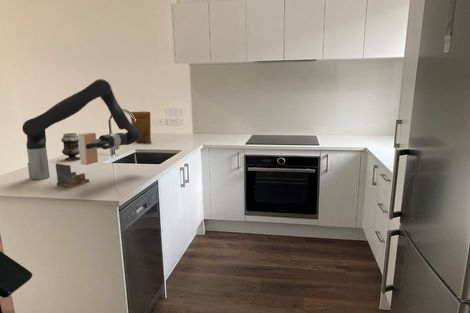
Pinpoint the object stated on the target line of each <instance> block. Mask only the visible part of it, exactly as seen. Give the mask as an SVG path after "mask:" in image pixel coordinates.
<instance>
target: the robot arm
mask: <svg viewBox="0 0 470 313" xmlns="http://www.w3.org/2000/svg"><path fill="white" fill-rule="evenodd" d="M98 98H100V99H101V100H102V101H103V102H104V104H105V105H106V106H107V109H108V111H109V113H110V114H111V117H112V119H113V120H114V122H115V124H116V126H117V127H118V129H119V130H126V132H125V133H124V132H117V133H116V132H115V133H107V134H103V135H100V136H99V138H96V143H92V144H87V145H86V148H87V149H90V148H93V147H94V148H97V149H102V150H109V149H113V148H116V147H120V146H129V145H132V144H134V143H135V141H137V140H139V139H140V133H139V131H138V130H137V129H136V128H135V127H134V126H133V125H132V122H131V121H130V120H129V119H128V117H127V115H126V113H125V112H124V110H123V109H122V107H121V106H120V104H119V102H118V101H117V99H116V97H115V95H114V92H113V89H112V86H111V84H110V83H109V81H108V80H106V79H104V78H103V79H102V78H101V79H99V78H98V79H96V80H94V81H93V82H92V83H90V84H89V85H87V86H86V87H85V88H84V89H82V90H80V91H78V92H75V93H73V94H72V95H70V96H67V97H66V98H64V99H62V100H61V101H58V102H57V103H56V104H55V105H53V106H51V107H50V108H49V109H48V110H46V111H45V112H43V113H41V114H40V115H37V116H36V117H33V118H29V119H27V120H26V121H25V122H23V124H22V132H23V133H24V134H25V135H26V152H27V158H28V162H27V168H28V169H27V170H28V176H29V177H28V178H29V180H35V181H38V180H45V179H48V178H50V177H51V176H50V167H49V159H48V152H47V146H46V145H47V136H46V130H47V129H48V128H50V127H51V126H52V125H55V124H57V123H59V122H62V121H64V120H66V119H68V118H70V117H71V116H73V115H74V116H75V114H77V113H79V112H80V111H81V110H82V109H83V108H85V107H86V106H87V105H88V104H89V103H90V102H92V101H93V100H94V101H95V100H96V99H98Z"/></svg>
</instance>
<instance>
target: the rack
mask: <svg viewBox="0 0 470 313" xmlns="http://www.w3.org/2000/svg"><path fill="white" fill-rule="evenodd" d="M71 169H72V168H71V165H70V164H64V163H63V164H62V163H55V171H56V180H57V182H56V186H57V187H63V188H68V189H71V188H75V187H78V186H80V185H85V184H87V183H89V182H90V179H89V178H86V173H84V172H82V173H79V174H77V172H76V171H72V170H71Z"/></svg>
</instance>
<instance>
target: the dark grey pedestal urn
mask: <svg viewBox="0 0 470 313" xmlns="http://www.w3.org/2000/svg"><path fill="white" fill-rule="evenodd" d="M60 141H61V142H62V143H63V144H62V145H63V149H62V151H61V153H62V154H63V155H64V156H67V157H66V158H64V161H67V162H68V161H69V162H71V161H79V160H80V156H78V155H80V150H79V140H78V133H76V132H67V133H66V132H65V133H63V134H62V137H61V139H60Z"/></svg>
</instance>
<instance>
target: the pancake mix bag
mask: <svg viewBox="0 0 470 313" xmlns="http://www.w3.org/2000/svg"><path fill="white" fill-rule="evenodd" d="M130 113H132V114H133V115H134V117H135V119H136V124H135V122H134V119H133V118H132V117H131V116H130V115H129V117H130V123H131V124H132V125H133V126H134V127H135V128H136V129H137V130H138V131H139V133H140V139H139V140H137V141H135V142H134V143H135V144H145V145H146V144H147V145H149V144H152V139H151V134H152V133H151V129H152V128H151V127H152V126H151V124H152V123H151V122H152V121H151V112H150V111H130Z"/></svg>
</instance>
